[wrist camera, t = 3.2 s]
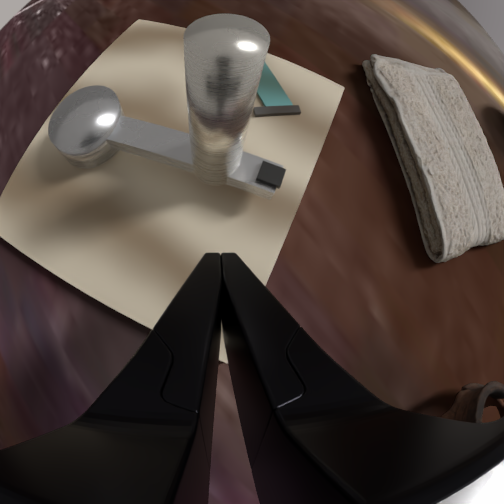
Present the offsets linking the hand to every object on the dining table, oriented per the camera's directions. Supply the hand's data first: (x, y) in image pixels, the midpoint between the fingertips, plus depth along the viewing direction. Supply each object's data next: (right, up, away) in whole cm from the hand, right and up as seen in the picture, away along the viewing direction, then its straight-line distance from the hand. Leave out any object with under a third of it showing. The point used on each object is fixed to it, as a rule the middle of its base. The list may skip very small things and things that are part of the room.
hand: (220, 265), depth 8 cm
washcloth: (+17, +9, +13) cm, 23 cm away
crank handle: (-4, +6, +7) cm, 10 cm away
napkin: (-5, +7, +9) cm, 12 cm away
